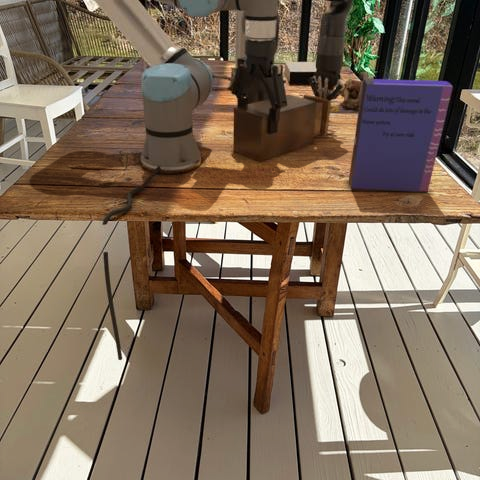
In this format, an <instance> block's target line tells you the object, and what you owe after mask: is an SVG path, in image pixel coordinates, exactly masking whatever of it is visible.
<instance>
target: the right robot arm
mask: <svg viewBox="0 0 480 480" xmlns="http://www.w3.org/2000/svg"><path fill="white" fill-rule="evenodd" d="M325 1H326V2H329V6H328V8H327V10H326V11H324V12H323V13H322V14H321V18H320V26H319V35H318V40H317V46H316V47H317V48H316V58H315V62H316V69H317V70H316V72H315V76H313V77H312V78H309V79H308V81H309V83H310V84H309V86H310V88H311V91H312V93H313V96H314V97H318V98H322V99H326V100H330V101H331V102H332V101H334V100H337V99H338V97H339V96H341V95H340V94H341V93H342V91H343V90H344V89H345V88H346V84H345V83H343V82H342V76H341V71H342V69H343V61H344V54H345V53H344V52H345V46H346V45H345V44H346V29H347V21H348V20H347V19H348V17H349V14H350V11H351V9H352V8H351V7H352V5H353V1H354V0H325ZM280 23H281V21H280V14H279V11H278V10H277V22H276V37H275V38H273V39H274V40H275V41H276V46H275V55H274V57H273V63H274V64H275V57H276V53H277V51H278V47H279V35H280V25H281V24H280ZM241 27H242V31H243V33H244V35H245V11H243V14H242V19H241ZM246 58H247V56H246ZM247 69H248V68H247ZM267 78H269V77H267ZM246 95H247V97H244V98H248V104H251V103H255V102H260V101H264V100H268V99H269V98H268V95H267V92H266V89H265V87H264V84H263V83H262V82H261V80H259V79H257V78H255V79H254V81H253V83H252V85H251V87H250V89H249V90H248V92H247V94H246Z"/></svg>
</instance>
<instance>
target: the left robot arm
mask: <svg viewBox="0 0 480 480" xmlns="http://www.w3.org/2000/svg"><path fill="white" fill-rule="evenodd" d="M93 1H94V2H95V3H96V4H97V6H98V7H99V8H100V9H101V11H102V12H103V13H104V14H105V15H106V17H108V19H109V20H110V22H112V23H113V25H114V26H115V27H116V29H118V31H119V32H120V34H122V36H123V37H124V38H125V39H126V40H127V41H128V43H129V44H130V45H131V46H132V47H133V48H134V49H135V51H136V52H137V53H138V54H139V55H140V57H141V58H142V59H143V61H144V60H145V61H146V63H147V64H148V65H149V66H150V68H148V69H146V70H145V71H144V70H143V72H142V74H141V79H140V80H141V85H140V91H141V95H142V97H141V98H142V106H143V115H144V125H145V138H144V142H143V146H142V150H141V154H140V162H141V166H142V168H144V169H145V170H146V171H149V172H151V173H150V174H149V176H148V177H147V178H146V180H144V182H142V183H141V184H140V185H139V186H138V187H135V188H134V189H132V190H131V191H129V193H128V194H127V195H126V202H127V204H126V205H125V206H124V207H120V208H119V207H118V208H115V209H113V210H111V211H109V212H108V213H107V214H106V215H105V217H104V218H103V220H102V224H101V225H103V226H105V225H108V222H109V221H110V219H112V217H113V216H115V215H117V214H121V213H125V212H127V211H128V210H130V209H131V208H132V205H133V201H132V197H133V196H134V195H135V194H137V193H139V192H140V191H142V190H144V189H145V188H146V187H147V186H148V185H149V183H150V182H151V181H152V179H154V177H155V176H156V175H157V174H163V175H164V174H165V175H169V174H170V175H172V174H173V175H175V174H182V173H187V172H190V171H193V170H195V169H197V168H198V167H199V166H201V163H202V155H201V151H200V149H199V147H200V148H202V147H203V142H201V141H197V140H196V137H195V135H194V130H193V129H194V126H193V111H194V110H195V109H197V108H198V107H200V106H202V105H203V104H204V103H205V102H206V101H207V100H208V98H209V97H210V95H211V93H212V90H213V87H214V82H213V81H214V78H213V77H212V74H213V73H212V71H210V69H209V68H208V66H209V65H207V64H206V63H205V62H204V61H202V60H200V59H198V58H195V57H194V56H192V54H191V53H190V52H189V50H187V49H186V48H185V46H180V45H176V44H175V43H174V42H173V41H172V39H171V38H170V37H169V36H168V35H167V34H166V32H165V30H164V29H162V27H161V26H160V25H159V23H158V22H157V21H156V20H155V19H154V17H153V16H152V14H150V13H149V11H148V10H147V9H146V7H145V6H144V5H143V4H142V3H141V2H140V0H93ZM154 1H155V2H159V3H162V4H166V5H169V6H172V7H174V8H177V9H180V10H182V11H184V13H186V14H187V15H189V16H191V17H193V18H206V17H209V16H210V15H211V16H212V14H215V13H218V12H221V11H236V10H239V11H245V37H247V39H246V40H245V55H246V56H247V58H246V57H243V58H238V59H237V71H236V75H235V79H234V84H233V88H231V95H233V96H235V98H236V99H237V100H236V102H237V103H236V104H237V105H236V107H239V106H243V105H247V104H248V98H245V97H247V95H246V94H247V92H248V90H249V89H250V87H251V85H252V83H253V81H254V79H255V78H257V79H259V80H261V82H262V83H263V84H264V87H265V89H266V92H267V95H268V98H269V101H270V103H271V106H272V107H271V108H269V126H268V134H273V133H277V131H278V121H279V120H280V109H281V108H282V107H286V106H287V98H286V95H287V93H286V87H285V83H284V81H283V80H284V73H283V72H284V65H282V64H275V62H274V63H273V57H274V55H275V56H276V53H275V46H276V41H275V40H274V39H273V38H275V37H276V22H277V11H278V3H279V0H154ZM247 68H248V69H247ZM267 77H269V78H267ZM275 102H276V103H275ZM102 255H103V256H102V257H103V268H104V280H105V288H106V295H107V300H108V301H107V302H108V308H109V313H110V318H111V324H112V330H113V334H114V340H115V341H114V342H115V347H116V352H117V359H118V360H119V361H122V360H123V353H122V347H121V341H120V334H119V328H118V323H117V317H116V312H115V306H114V299H113V293H112V286H111V285H112V284H111V277H110V266H109V265H110V263H109V252H108V251H103V253H102Z"/></svg>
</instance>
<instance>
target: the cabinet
mask: <svg viewBox="0 0 480 480" xmlns="http://www.w3.org/2000/svg"><path fill="white" fill-rule="evenodd" d="M286 98H287V106H286V107H282V108H281V109H280V120H279V121H278V131H277V133H273V134H268V126H269V108H271V107H272V106H271V103H270V101H269V99H268V100H264V101H260V102H255V103H251V104H247V105H243V106H239V107H237V106H235V107H233V140H232V142H233V144H232V145H233V148H232V149H233V152H236V153H238V154H241V155H242V156H246V157H248V158H251V159H253V160H255V161H258V162H263V161H266V160H270V159H272V158H275V157H277V156H278V157H279V156H281V155H285V154H287V153H290V152H292V151H295V150H298V149H301V148H304V147H307V146H310V145H313V144H314V139H315V136H314V129H315V119H316V109H317V102H315V101H311V100H307V99H304V98H302V97H299V96H296V95H292V94H286ZM275 103H276V102H275Z"/></svg>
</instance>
